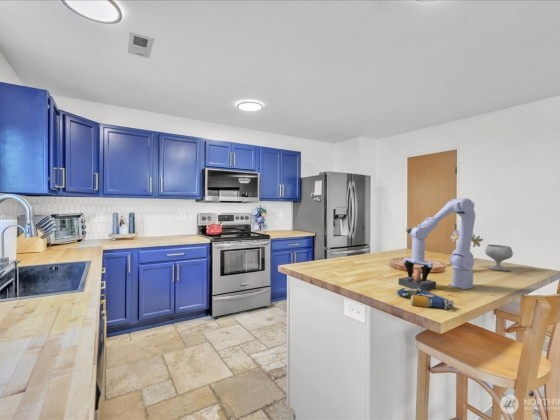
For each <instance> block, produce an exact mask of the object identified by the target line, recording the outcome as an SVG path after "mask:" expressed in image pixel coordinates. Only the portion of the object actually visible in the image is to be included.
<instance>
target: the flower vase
mask: <svg viewBox="0 0 560 420" xmlns="http://www.w3.org/2000/svg"><path fill="white" fill-rule="evenodd" d="M459 231H460V230H458V229H455V230H454V231H453V232H452V234H450V235H451V236H450V239H452V242H455V241H456V240H457V241H458V237H459ZM482 241H484V239H483V238H480V235H477V236H476V234H475V233H474V232H473V234H472V240H471V243H472V247H473V248H475V247H476V246H477V247H478V248H480V247H481V242H482Z"/></svg>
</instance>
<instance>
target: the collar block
mask: <svg viewBox="0 0 560 420" xmlns="http://www.w3.org/2000/svg"><path fill="white" fill-rule="evenodd" d="M398 285H399V286H403V287H405V288H410V289H417V288H418V289H421V290H426V291H428V290H431V289H432V290H433V289H436V288H437V281H434V280H431V279H427V280H426V281H422V277H421V278H420V282H417V281H414V275H412V277H408V276H405V277H404V276H403V277H399V278H398Z"/></svg>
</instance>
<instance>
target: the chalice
mask: <svg viewBox="0 0 560 420" xmlns="http://www.w3.org/2000/svg"><path fill="white" fill-rule="evenodd" d="M484 251H485V254H486V256H487V257H489V258H491V259H492V260H494V261H495V263H496V264H495V265H487V266H486V268H488V269H489V268H490V269H489V270H493V271H494V270H495V271H500V270H501V272H508V271H509V270H510V271H511V269H510V268H508V267H504V266H501V262H503V261H505V260H508V259H510V258H512V257H513V255H514V253H513V252H514V251H513V249H512V247H511V246H508V245H503V244H487V245H486V248H485V250H484Z"/></svg>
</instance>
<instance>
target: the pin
mask: <svg viewBox="0 0 560 420" xmlns="http://www.w3.org/2000/svg"><path fill="white" fill-rule="evenodd" d="M413 276H414V281H417V282H420V278H422V269H417V268H416V269H413Z"/></svg>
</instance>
